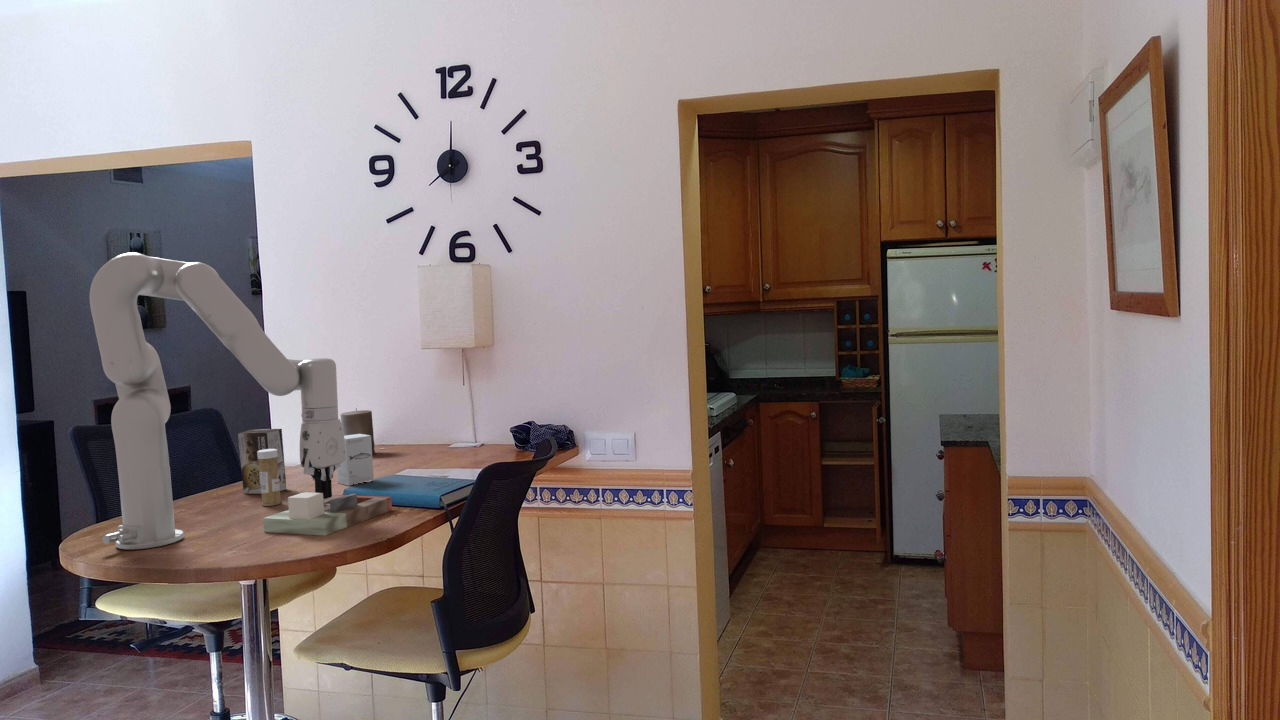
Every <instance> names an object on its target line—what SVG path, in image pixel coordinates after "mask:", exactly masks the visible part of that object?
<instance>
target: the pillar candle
mask: <svg viewBox="0 0 1280 720" xmlns="http://www.w3.org/2000/svg"><path fill="white" fill-rule="evenodd" d="M339 416H340V421H341V424H342V428H343V434H344V436H346V435H354V434H365V435H370V436H371V443H372V455H375V454H376V451H375V439H374V425H373V412H372V410H369V409H368V410H367V409H365V410H357V407H355V410H353V411H345V412H343V413H342V412H341V413H340V415H339Z"/></svg>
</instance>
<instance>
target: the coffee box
mask: <svg viewBox="0 0 1280 720" xmlns="http://www.w3.org/2000/svg"><path fill="white" fill-rule="evenodd" d="M237 437H238V438H237V439H238V447H239V459H240V467H241V469H240V470H241V480H242V492H243V494H244V495H247V494H250V495H251V494H255V495H256V494H258V495H262V494H261V486H260V474H259V471H260V470H259V461H258V456H257V452H258V451H259V450H264V449H277V452H278V457H277V463H278V472H279V483H280V492H281V491H284V490H287V480H286V479H287V477H286V467H285V454H284V442H283V441H284V440H283V430H282V428H262V429H261V428H259V429H258V428H257V429H256V428H254V429H248V430H246V431H245V430H244V431H242V432H238V433H237Z"/></svg>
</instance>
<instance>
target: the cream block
mask: <svg viewBox="0 0 1280 720" xmlns="http://www.w3.org/2000/svg"><path fill="white" fill-rule="evenodd" d="M287 505H288V510H289V518H292V519H311V518H314V517H316V516H319V515H322V514H324V502H323V493H315V492H306V491H305V492H301V493H297V494H294V495H291V496H288V497H287Z"/></svg>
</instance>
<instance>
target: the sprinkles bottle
mask: <svg viewBox="0 0 1280 720" xmlns="http://www.w3.org/2000/svg"><path fill="white" fill-rule="evenodd" d="M257 456H258V461H259V470H260V471H259V474H260V486H261V494H260V495H261V505H262V506H263V507H274V506H278V505H280V504H281V503H282V499H281V491H280V483H279V472H278V463H277V457H278V452H277V449H264V450H259V451H258V452H257Z"/></svg>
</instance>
